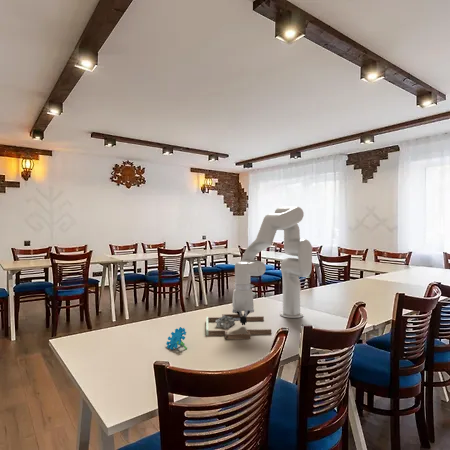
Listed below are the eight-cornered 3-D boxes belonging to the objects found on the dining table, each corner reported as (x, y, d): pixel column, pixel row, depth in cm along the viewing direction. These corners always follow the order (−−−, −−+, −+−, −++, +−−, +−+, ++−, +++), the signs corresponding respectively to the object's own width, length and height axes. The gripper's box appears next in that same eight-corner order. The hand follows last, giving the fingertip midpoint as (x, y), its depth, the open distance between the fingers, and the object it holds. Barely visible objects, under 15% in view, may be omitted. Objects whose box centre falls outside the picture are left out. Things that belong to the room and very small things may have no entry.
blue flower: (162, 340, 142) (178, 322, 145) (171, 348, 145) (187, 330, 147) (171, 353, 133) (188, 333, 135) (180, 361, 135) (197, 341, 138)
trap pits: (224, 318, 181) (224, 317, 181) (240, 318, 181) (240, 317, 181) (227, 338, 150) (227, 337, 150) (247, 337, 150) (247, 337, 150)
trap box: (208, 318, 181) (208, 314, 181) (261, 317, 183) (261, 313, 183) (208, 339, 148) (208, 335, 148) (273, 338, 150) (273, 333, 150)
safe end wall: (206, 321, 176) (206, 316, 176) (208, 321, 176) (208, 316, 176) (206, 335, 154) (206, 330, 154) (208, 335, 154) (208, 330, 154)
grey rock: (227, 329, 163) (227, 321, 163) (214, 327, 166) (214, 319, 166) (236, 323, 172) (236, 315, 172) (223, 321, 176) (223, 313, 176)
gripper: (256, 285, 170) (257, 321, 170) (227, 286, 169) (227, 322, 169) (259, 288, 162) (259, 326, 162) (228, 289, 161) (228, 327, 162)
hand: (243, 324), depth 166 cm, fingers closed
